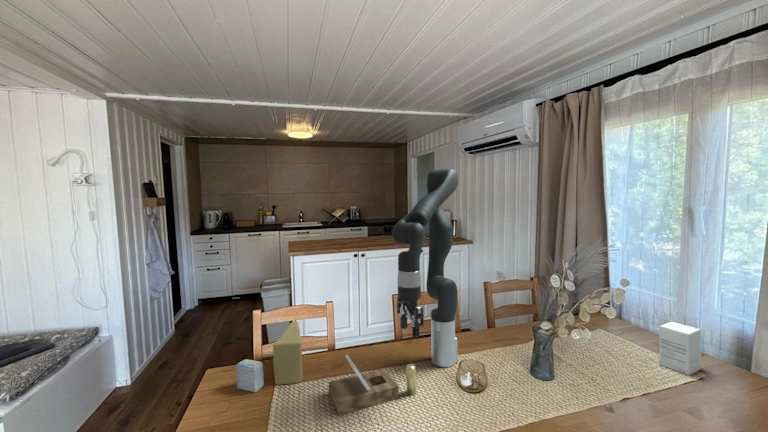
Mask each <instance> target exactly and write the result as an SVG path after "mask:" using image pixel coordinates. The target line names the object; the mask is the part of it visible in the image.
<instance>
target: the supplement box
mask: <svg viewBox="0 0 768 432" xmlns="http://www.w3.org/2000/svg"><path fill="white" fill-rule="evenodd" d="M658 328H659V333H658V334H659V335H658V337H659V339H658V340H659V341H658V343H659V348H658V349H659V350H658V351H659V352H658V356H659V357H658V358H659V359H658V365H659V366H662V367H665V368H667V367H668V369H671V370H673V371H676V372H678V373H682V374H683V375H687V376H691V375H692V374H695V373H696V372H698V371H699V370H701V365H702V364H701V362H702V361H701V357H702V356H701V355H702V354H701V351H702V350H701V349H702V348H701V345H702V344H701V343H702V342H701V341H702V340H701V339H702V337H701V328H697V327H693V326H689V325H687V324H686V325H684V324H682V323H679V322H674V321H670V322H667V323H663V324H661V325H659V327H658Z"/></svg>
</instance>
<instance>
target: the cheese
mask: <svg viewBox="0 0 768 432" xmlns="http://www.w3.org/2000/svg"><path fill="white" fill-rule="evenodd" d="M302 351H303V349H302V339H301V332H300V327H299V322H298V321H292V322H290V323H289V325H288V327H287V328H286V329H285V331H284V332H283V333H282V335H281V336H280V337H279V338H278V339H277V340H276V341H275V342H274V343H273V345H272V355H273V356H272V357H273V358H272V359H273V361H272V362H273V375H274V383H275V385H277V386H279V385H280V386H281V385H289V384H291V385H292V384H299V383H301V382H302V381H303V378H304V377H303V352H302Z"/></svg>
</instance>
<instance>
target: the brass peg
mask: <svg viewBox="0 0 768 432" xmlns="http://www.w3.org/2000/svg"><path fill="white" fill-rule="evenodd" d="M405 369H406V371H405V372H406V394H407V396H411V397H412V396H415V395H416V394H417V384H416V383H417V382H416V381H417V378H416V376H417V374H416V372H417V371H416V364H413V363H408V364H406V368H405Z"/></svg>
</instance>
